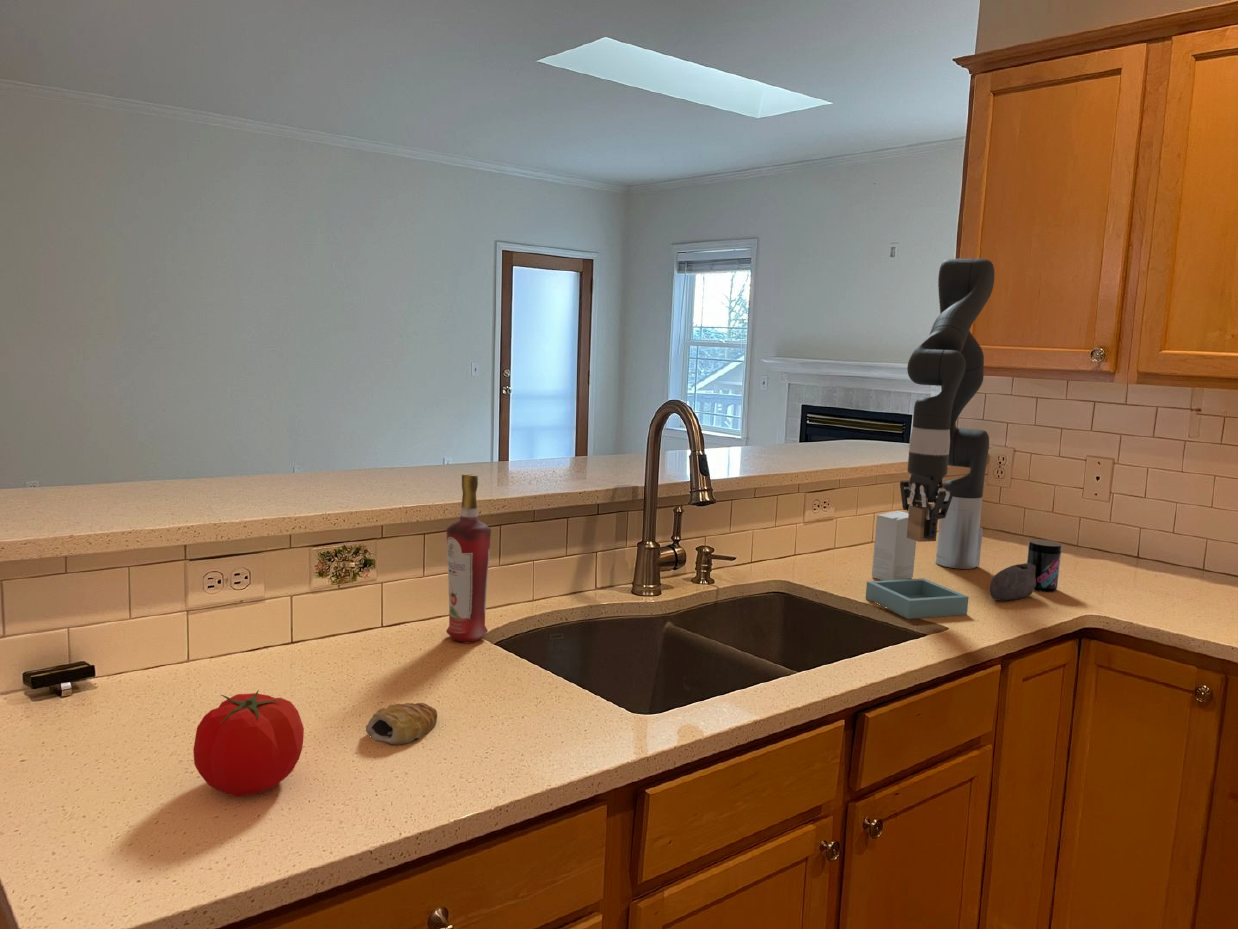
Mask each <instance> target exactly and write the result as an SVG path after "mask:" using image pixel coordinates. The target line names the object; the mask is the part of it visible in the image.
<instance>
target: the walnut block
mask: <svg viewBox="0 0 1238 929" xmlns="http://www.w3.org/2000/svg"><path fill="white" fill-rule="evenodd" d="M925 510H926V509H924V508H923V507H922V506H921V505H919V506H917V505H916V506H909V516H908V527H907V538H910V539H913V540H915V541H916V542H919V543H921V542H925V543H926V542H927V543H928V542H937V536H938V525H939V522H938V521H939V519H938V520H937V525H936V535H935V537H934V538H933V539H926V538H924V526H925V520H926V518H925ZM932 512H933V509H932V508H931V513H932Z"/></svg>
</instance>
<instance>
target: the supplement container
mask: <svg viewBox="0 0 1238 929" xmlns="http://www.w3.org/2000/svg"><path fill="white" fill-rule="evenodd" d="M1027 548H1028V549H1027V557H1026V563H1030V564H1033V565H1034V566H1036V571H1035V578H1036V586H1035V588H1034V590H1033V591H1035V590H1036V592H1041V591H1042V592H1043V593H1053V592H1055V591H1057V590H1058V585H1059V576H1060V575H1059V574H1060V567H1061V560H1062V559H1061V556H1062V549H1063V544H1062V543H1060V542H1058V541H1054V540H1047V539H1037V538H1036V539H1034V538H1033V539H1030V540H1028V545H1027ZM1042 592H1041V593H1042Z"/></svg>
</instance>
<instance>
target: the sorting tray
mask: <svg viewBox="0 0 1238 929" xmlns="http://www.w3.org/2000/svg"><path fill="white" fill-rule="evenodd" d="M865 588H866V589H865V599H866V600H868V599H869V600H868V601H870V602H872V601H874V602H876V603H878V604H880V605H881V606H880V605H879V606H880V607H882V606H883V607H882V608H884V607H887V608H888V609H889V610H888V609H887V610H888V611H890V610H891V611H890V612H892V611H893V613H895V614H897V615H899V616H901V617H904V618H905V619H907V620H908V619H909V620H911V619H922V618H923V619H925V618H938V617H948V616H950V617H951V616H965V614H966V615H968V606H969V596H967V595H966V594H963V593H961V592H958V591H955V590H953V589H951V588H948V587H946V586H943V585H941V584H938V583H937V582H936V583H935V581H931V580H929V579H926V578H924V577H920V578H909V579H902V580H885V581H883V580H870V581H866V587H865ZM874 602H873V603H874ZM876 603H875V604H876ZM878 604H877V605H878Z"/></svg>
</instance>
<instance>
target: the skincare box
mask: <svg viewBox="0 0 1238 929" xmlns="http://www.w3.org/2000/svg"><path fill="white" fill-rule="evenodd" d="M908 516H909V514H908V512H905V511H900V510H894V511H891V512H890V511H889V512H886V513H881V514H877V515H876V524H875V535H874V537H875V538H874V545H873V556H872V567H871V568H872V569H871V577H872V578H873V579H876V578H877V579H876V580H879V581H885V580H902V579H914V567H915V558H916V549H917V541H915V540H913V539H910V538H907V527H908Z"/></svg>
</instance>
